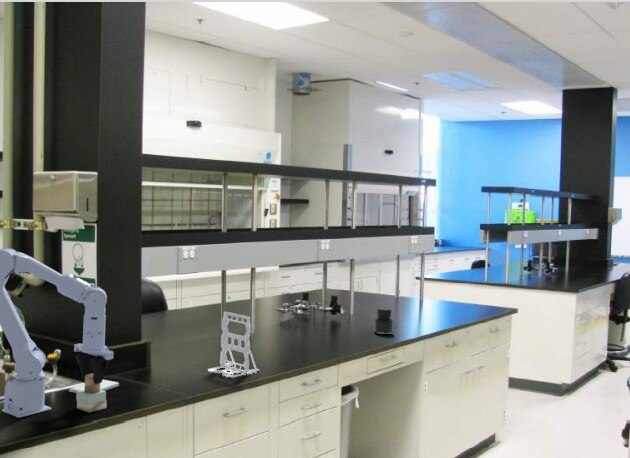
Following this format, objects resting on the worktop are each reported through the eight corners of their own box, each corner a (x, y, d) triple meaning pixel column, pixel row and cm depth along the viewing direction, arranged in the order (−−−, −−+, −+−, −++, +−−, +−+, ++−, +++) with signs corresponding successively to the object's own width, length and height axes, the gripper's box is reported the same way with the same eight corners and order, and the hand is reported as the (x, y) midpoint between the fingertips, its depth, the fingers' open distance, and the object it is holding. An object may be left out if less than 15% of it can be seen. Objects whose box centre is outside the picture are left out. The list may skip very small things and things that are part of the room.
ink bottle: (393, 332, 308) (394, 308, 308) (393, 336, 300) (394, 311, 299) (373, 331, 309) (374, 307, 309) (373, 334, 301) (374, 309, 300)
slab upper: (88, 404, 170) (88, 395, 170) (76, 400, 174) (76, 391, 174) (105, 400, 175) (106, 391, 175) (93, 396, 178) (94, 387, 178)
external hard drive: (118, 387, 197) (90, 397, 185) (97, 383, 200) (68, 393, 188) (119, 382, 197) (91, 392, 185) (97, 378, 200) (69, 387, 188)
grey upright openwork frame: (203, 370, 220) (206, 313, 220) (233, 364, 231) (235, 309, 230) (231, 379, 211) (234, 319, 210) (261, 372, 221) (263, 315, 221)
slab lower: (89, 413, 170) (89, 404, 170) (76, 409, 174) (77, 400, 173) (106, 409, 175) (106, 400, 175) (93, 404, 178) (94, 396, 178)
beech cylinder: (90, 394, 171) (90, 378, 171) (81, 391, 174) (82, 375, 174) (102, 391, 175) (103, 375, 174) (94, 388, 177) (94, 372, 177)
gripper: (123, 334, 173) (121, 383, 173) (90, 326, 181) (88, 373, 181) (101, 337, 167) (99, 388, 167) (68, 329, 175) (66, 378, 175)
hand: (92, 381), depth 174 cm, fingers open, 4 cm apart
